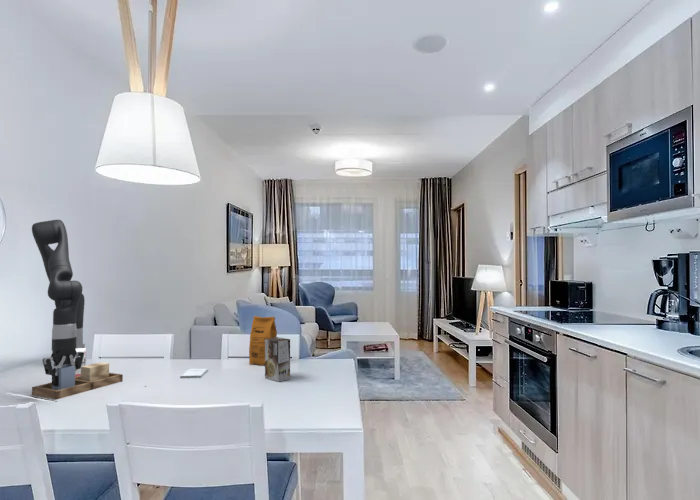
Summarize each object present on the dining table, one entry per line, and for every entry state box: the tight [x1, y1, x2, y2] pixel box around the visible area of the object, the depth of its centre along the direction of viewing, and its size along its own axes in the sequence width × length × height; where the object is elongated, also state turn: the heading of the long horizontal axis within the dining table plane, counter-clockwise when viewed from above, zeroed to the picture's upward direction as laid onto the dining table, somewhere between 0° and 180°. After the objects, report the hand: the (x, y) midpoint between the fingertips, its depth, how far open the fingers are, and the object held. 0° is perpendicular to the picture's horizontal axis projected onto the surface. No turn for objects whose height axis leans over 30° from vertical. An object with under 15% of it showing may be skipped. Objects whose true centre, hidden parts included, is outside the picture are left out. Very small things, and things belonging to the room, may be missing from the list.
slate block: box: [52, 365, 75, 390], centre depth 160 cm, size 5×5×8 cm
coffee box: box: [264, 336, 291, 383], centre depth 182 cm, size 9×6×16 cm
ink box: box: [74, 347, 87, 377], centre depth 182 cm, size 8×5×12 cm, turn 26°
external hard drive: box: [179, 368, 209, 379], centre depth 189 cm, size 2×8×12 cm
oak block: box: [81, 361, 110, 382], centre depth 171 cm, size 8×5×7 cm, turn 156°
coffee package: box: [248, 315, 278, 366], centre depth 210 cm, size 10×12×22 cm
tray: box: [31, 372, 124, 403], centre depth 166 cm, size 26×13×3 cm, turn 156°
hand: (63, 383), depth 160 cm, fingers closed on slate block, 5 cm apart
